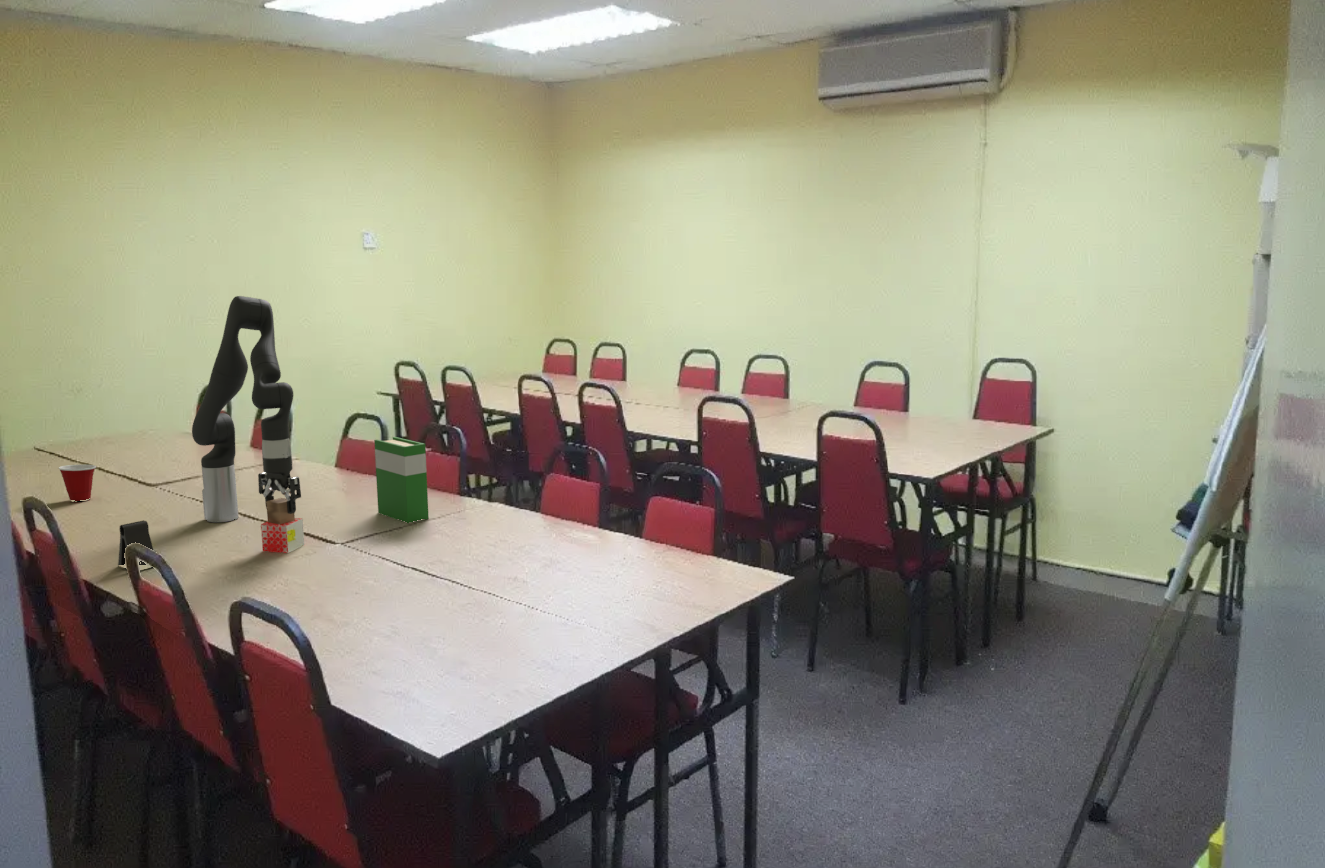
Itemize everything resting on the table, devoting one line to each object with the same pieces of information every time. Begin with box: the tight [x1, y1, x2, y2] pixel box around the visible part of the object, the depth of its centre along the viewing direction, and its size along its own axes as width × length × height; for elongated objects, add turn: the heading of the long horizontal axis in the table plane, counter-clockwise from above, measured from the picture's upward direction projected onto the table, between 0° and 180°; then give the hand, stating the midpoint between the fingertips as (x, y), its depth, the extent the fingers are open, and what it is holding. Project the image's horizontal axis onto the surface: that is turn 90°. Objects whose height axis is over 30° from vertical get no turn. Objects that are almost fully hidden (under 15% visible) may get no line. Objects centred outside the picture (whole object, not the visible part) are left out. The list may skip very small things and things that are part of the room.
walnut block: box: [265, 497, 296, 525], centre depth 263 cm, size 5×5×6 cm
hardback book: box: [374, 436, 430, 524], centre depth 297 cm, size 18×7×24 cm, turn 46°
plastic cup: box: [58, 464, 97, 501], centre depth 317 cm, size 11×11×12 cm
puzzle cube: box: [260, 517, 305, 554], centre depth 264 cm, size 8×8×8 cm
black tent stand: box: [117, 520, 154, 570], centre depth 247 cm, size 9×6×12 cm, turn 53°
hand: (281, 511), depth 263 cm, fingers open, 8 cm apart
